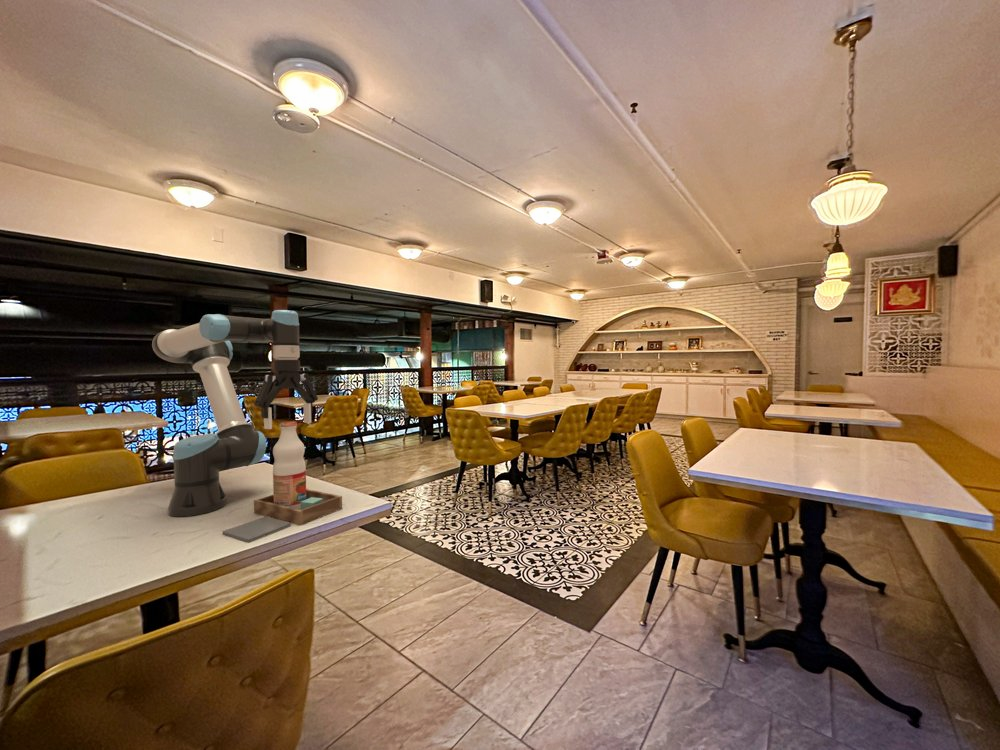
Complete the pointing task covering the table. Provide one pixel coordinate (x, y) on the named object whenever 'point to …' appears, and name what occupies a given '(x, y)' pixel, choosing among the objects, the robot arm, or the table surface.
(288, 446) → the fruit juice
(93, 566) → the table surface
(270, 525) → the slate coaster
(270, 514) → the brown wooden tray
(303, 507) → the teal block
